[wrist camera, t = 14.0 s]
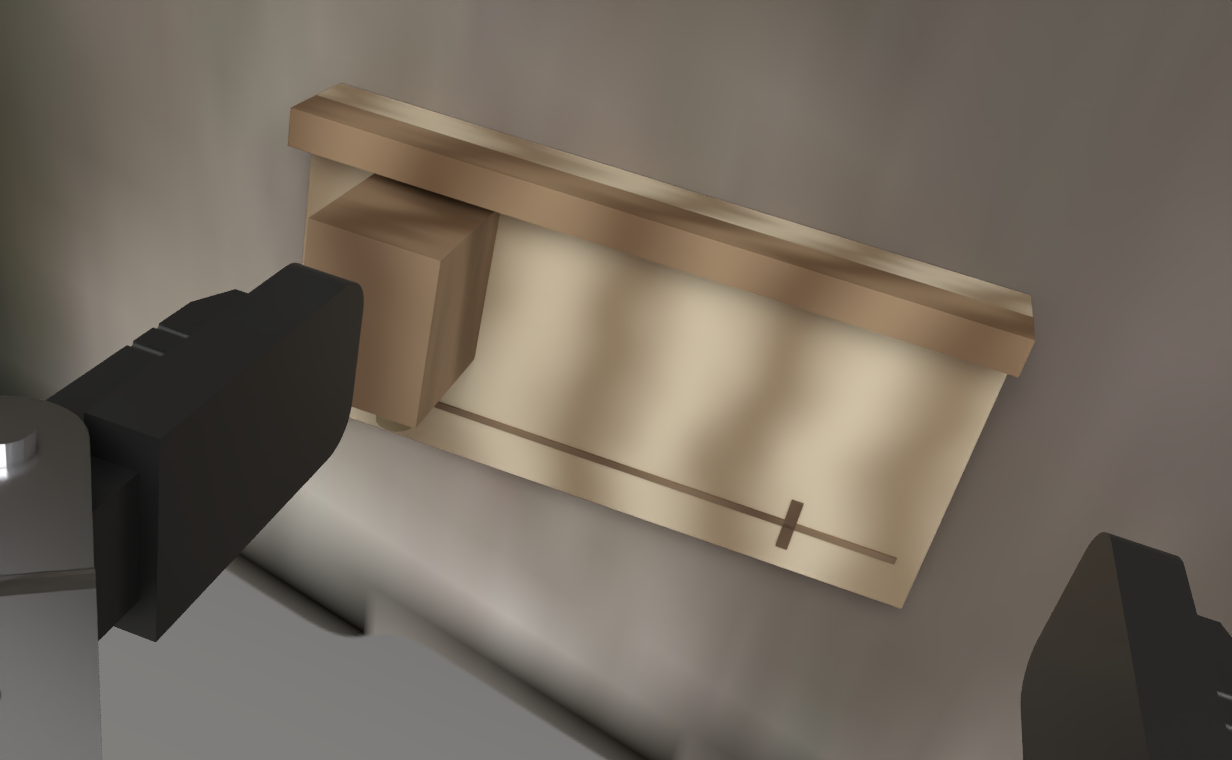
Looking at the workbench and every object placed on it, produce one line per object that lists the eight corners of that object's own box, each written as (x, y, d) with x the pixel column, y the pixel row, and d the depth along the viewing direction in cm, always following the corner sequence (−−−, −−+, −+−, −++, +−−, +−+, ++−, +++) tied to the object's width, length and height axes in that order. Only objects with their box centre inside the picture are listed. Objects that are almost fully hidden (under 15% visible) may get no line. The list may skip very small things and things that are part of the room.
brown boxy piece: (501, 205, 45) (440, 260, 40) (463, 422, 50) (405, 496, 45) (382, 167, 46) (307, 217, 41) (356, 385, 51) (287, 455, 46)
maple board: (1030, 295, 43) (1035, 340, 40) (904, 580, 50) (898, 639, 47) (340, 83, 47) (290, 107, 43) (312, 377, 54) (267, 418, 50)
